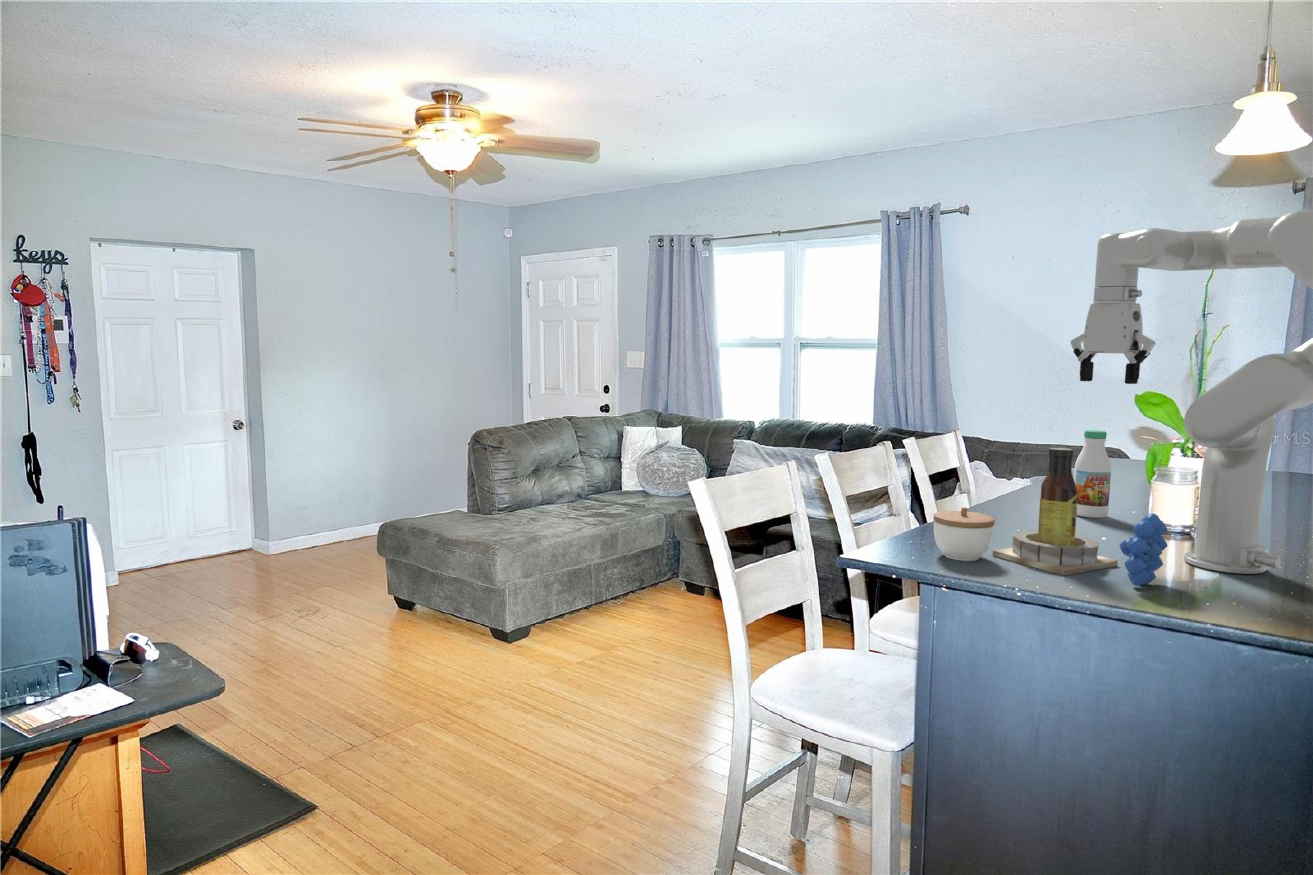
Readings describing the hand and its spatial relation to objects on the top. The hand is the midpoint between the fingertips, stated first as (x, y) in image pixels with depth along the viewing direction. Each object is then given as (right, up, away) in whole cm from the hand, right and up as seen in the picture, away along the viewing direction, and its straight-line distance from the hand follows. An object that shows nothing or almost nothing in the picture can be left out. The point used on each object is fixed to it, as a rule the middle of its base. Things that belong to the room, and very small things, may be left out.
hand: (1108, 382), depth 172 cm
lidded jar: (-34, -34, -13) cm, 50 cm away
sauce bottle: (-18, -33, -15) cm, 40 cm away
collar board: (-18, -34, -15) cm, 41 cm away
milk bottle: (+10, -30, +28) cm, 42 cm away
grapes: (-10, -36, -28) cm, 47 cm away
